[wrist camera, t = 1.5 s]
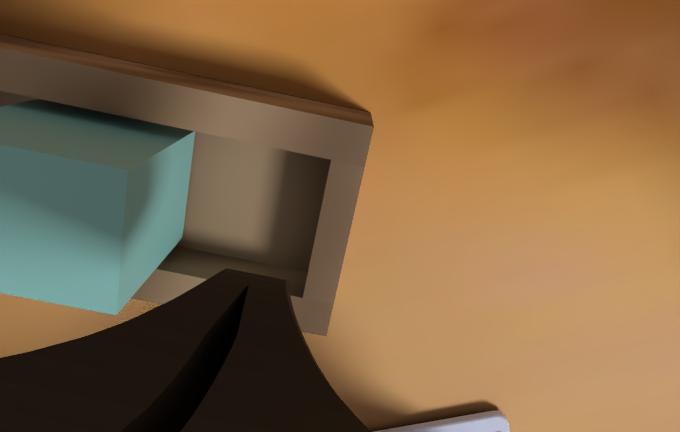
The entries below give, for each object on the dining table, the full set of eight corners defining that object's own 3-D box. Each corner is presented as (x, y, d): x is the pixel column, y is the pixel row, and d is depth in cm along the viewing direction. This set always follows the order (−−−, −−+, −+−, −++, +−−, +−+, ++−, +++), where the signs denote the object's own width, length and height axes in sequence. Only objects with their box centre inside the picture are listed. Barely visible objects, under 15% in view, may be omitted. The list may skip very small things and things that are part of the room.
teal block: (195, 130, 18) (128, 170, 12) (182, 237, 19) (116, 315, 14) (41, 98, 17) (-94, 125, 12) (38, 208, 18) (-86, 276, 13)
